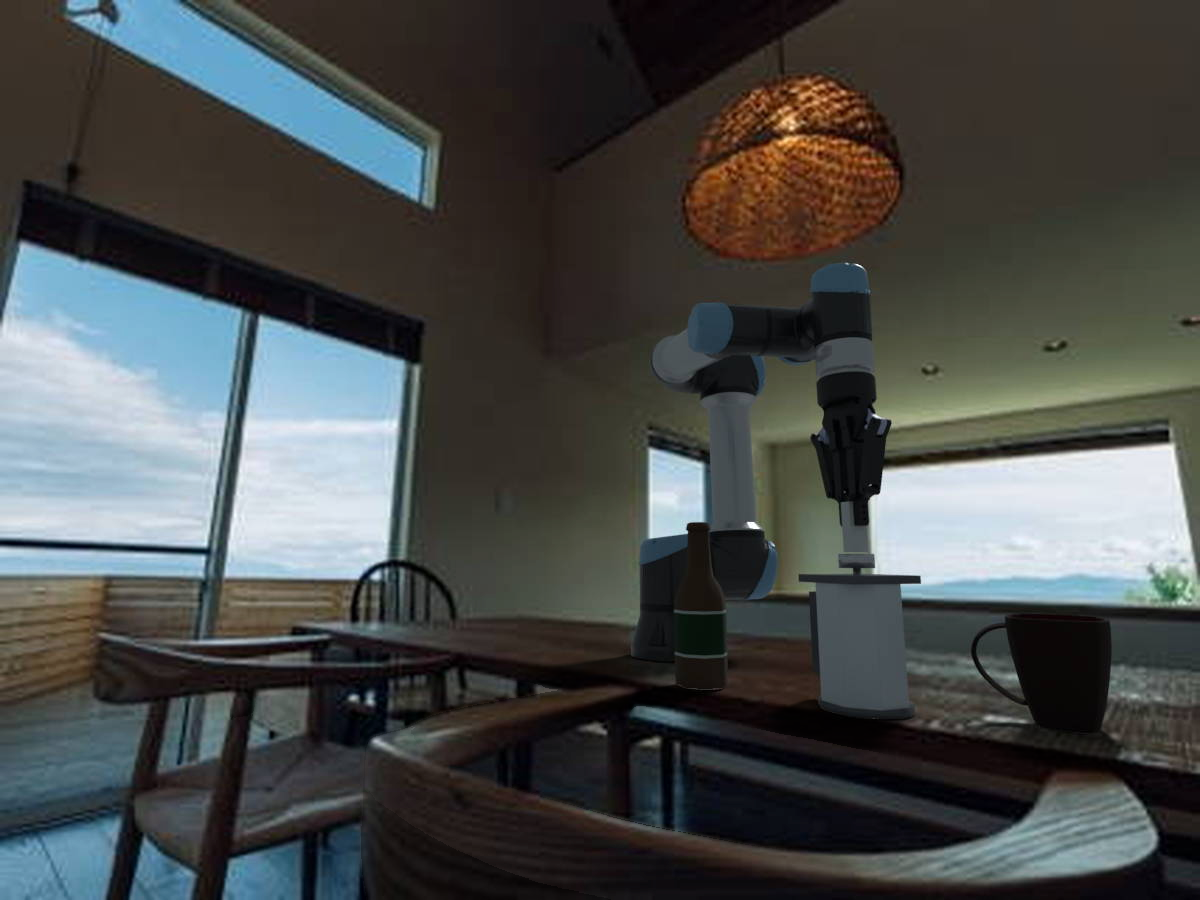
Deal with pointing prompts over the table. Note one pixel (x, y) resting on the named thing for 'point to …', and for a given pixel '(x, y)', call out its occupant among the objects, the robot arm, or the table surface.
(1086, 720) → the cup
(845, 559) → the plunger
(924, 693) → the table surface
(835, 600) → the grey capped canister
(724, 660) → the beer bottle
